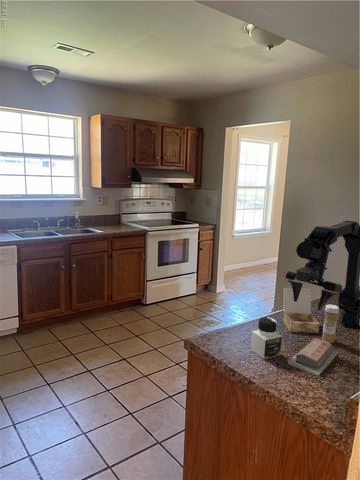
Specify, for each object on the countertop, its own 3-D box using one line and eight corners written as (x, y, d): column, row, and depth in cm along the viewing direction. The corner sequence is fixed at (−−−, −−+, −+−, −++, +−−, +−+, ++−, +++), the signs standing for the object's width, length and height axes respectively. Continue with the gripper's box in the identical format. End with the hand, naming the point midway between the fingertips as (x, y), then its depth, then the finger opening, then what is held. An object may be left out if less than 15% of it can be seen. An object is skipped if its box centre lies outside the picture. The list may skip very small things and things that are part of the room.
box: (309, 322, 144) (310, 313, 144) (318, 333, 134) (319, 323, 134) (283, 321, 145) (284, 312, 144) (290, 331, 135) (291, 322, 134)
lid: (310, 313, 144) (310, 313, 144) (311, 289, 145) (310, 289, 145) (283, 312, 144) (283, 312, 145) (284, 287, 145) (283, 287, 145)
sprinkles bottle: (319, 340, 128) (323, 306, 126) (323, 336, 132) (327, 303, 129) (332, 344, 125) (337, 309, 123) (336, 340, 129) (340, 306, 126)
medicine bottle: (264, 359, 113) (267, 325, 110) (250, 350, 119) (252, 317, 117) (280, 355, 116) (283, 321, 114) (266, 346, 122) (268, 314, 120)
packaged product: (309, 334, 123) (338, 343, 117) (307, 346, 124) (336, 356, 118) (288, 351, 109) (320, 363, 103) (287, 365, 110) (318, 378, 104)
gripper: (281, 253, 122) (271, 296, 122) (332, 265, 107) (320, 313, 108) (298, 258, 129) (288, 298, 129) (347, 269, 114) (336, 314, 115)
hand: (306, 305), depth 120 cm, fingers open, 9 cm apart
